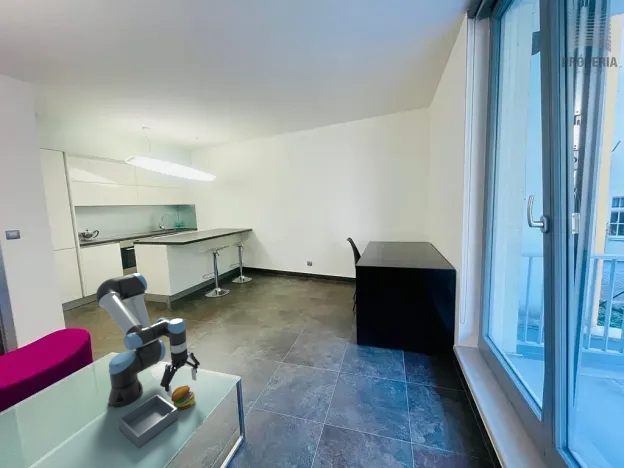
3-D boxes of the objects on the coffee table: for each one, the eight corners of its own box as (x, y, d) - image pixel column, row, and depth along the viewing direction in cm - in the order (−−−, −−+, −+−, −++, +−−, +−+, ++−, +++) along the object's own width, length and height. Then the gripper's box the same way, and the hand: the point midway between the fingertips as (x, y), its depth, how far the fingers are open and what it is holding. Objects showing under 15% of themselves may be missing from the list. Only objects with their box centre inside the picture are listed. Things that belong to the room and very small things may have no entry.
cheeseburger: (187, 413, 132) (181, 395, 130) (170, 414, 134) (164, 396, 133) (200, 397, 141) (194, 380, 140) (183, 398, 144) (177, 382, 142)
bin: (119, 430, 122) (118, 418, 121) (158, 404, 137) (156, 394, 136) (139, 449, 113) (137, 437, 112) (178, 419, 128) (177, 408, 127)
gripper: (158, 365, 120) (162, 407, 123) (204, 340, 141) (207, 375, 144) (149, 360, 124) (153, 400, 127) (196, 336, 145) (199, 371, 148)
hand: (182, 387), depth 136 cm, fingers open, 13 cm apart
